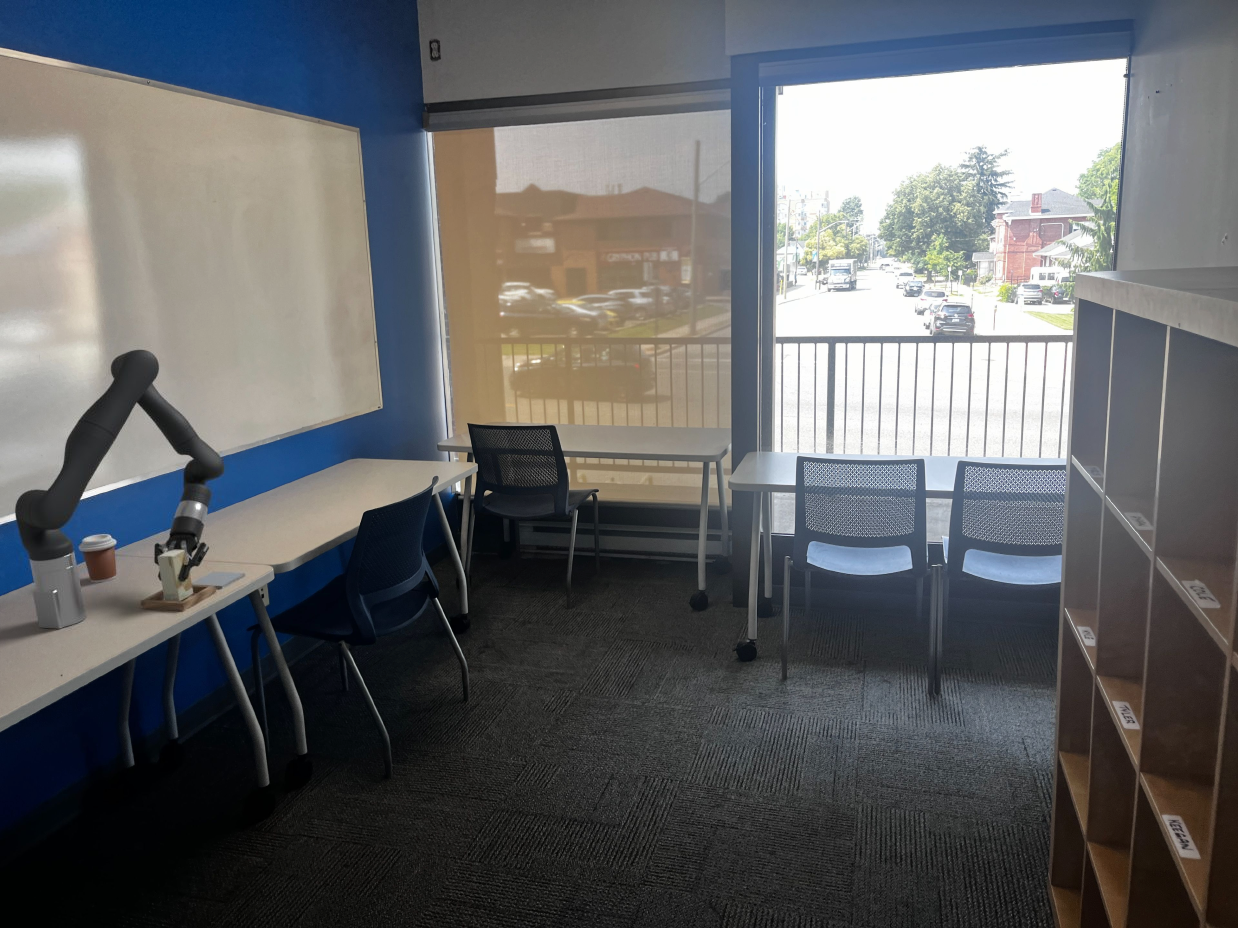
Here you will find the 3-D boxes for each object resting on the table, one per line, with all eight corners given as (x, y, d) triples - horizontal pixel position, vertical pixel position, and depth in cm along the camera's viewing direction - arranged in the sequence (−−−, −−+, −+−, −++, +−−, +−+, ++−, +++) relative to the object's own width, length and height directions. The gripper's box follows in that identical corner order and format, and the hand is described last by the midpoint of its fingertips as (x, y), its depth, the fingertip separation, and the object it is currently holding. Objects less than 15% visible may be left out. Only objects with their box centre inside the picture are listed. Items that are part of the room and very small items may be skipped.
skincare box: (179, 602, 225) (171, 556, 223) (164, 602, 226) (155, 556, 223) (194, 592, 232) (187, 548, 229) (179, 592, 232) (171, 548, 229)
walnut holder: (184, 610, 222) (183, 603, 221) (141, 608, 224) (140, 601, 224) (216, 592, 233) (215, 585, 233) (175, 590, 236) (174, 583, 236)
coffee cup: (85, 576, 250) (78, 536, 247) (122, 570, 254) (115, 530, 251) (84, 586, 242) (76, 545, 239) (122, 580, 246) (114, 539, 243)
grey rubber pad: (222, 588, 236) (221, 585, 236) (189, 587, 238) (189, 584, 238) (245, 575, 246) (244, 572, 246) (213, 574, 248) (213, 571, 248)
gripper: (156, 515, 232) (137, 575, 223) (209, 514, 231) (192, 573, 222) (170, 528, 238) (152, 587, 229) (221, 527, 237) (205, 586, 228)
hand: (172, 580), depth 226 cm, fingers closed on skincare box, 4 cm apart
